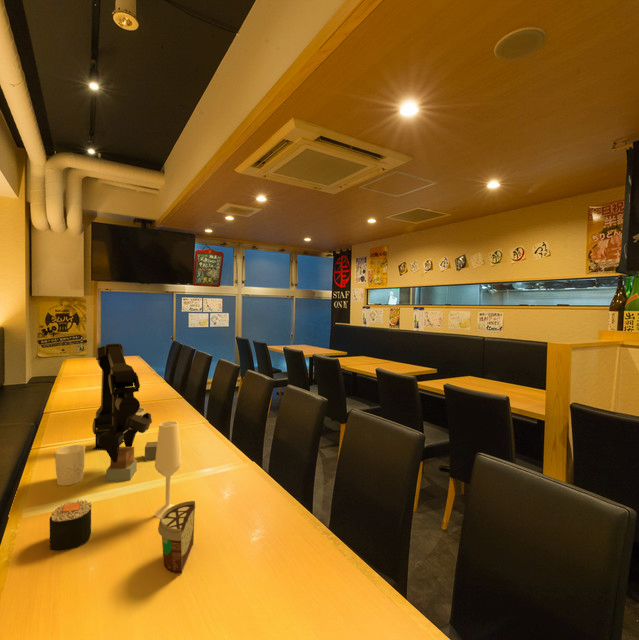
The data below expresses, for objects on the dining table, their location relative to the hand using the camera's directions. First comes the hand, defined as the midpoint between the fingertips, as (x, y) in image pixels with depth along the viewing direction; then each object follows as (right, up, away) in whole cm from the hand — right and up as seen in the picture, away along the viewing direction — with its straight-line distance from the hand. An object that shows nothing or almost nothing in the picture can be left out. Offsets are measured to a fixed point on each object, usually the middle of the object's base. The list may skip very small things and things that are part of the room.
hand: (122, 456), depth 120 cm
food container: (+32, -9, -38) cm, 51 cm away
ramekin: (-24, -5, +50) cm, 55 cm away
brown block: (+3, -6, +15) cm, 17 cm away
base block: (0, -7, 0) cm, 7 cm away
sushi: (+5, -8, -33) cm, 34 cm away
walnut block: (0, -3, 0) cm, 3 cm away
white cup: (-14, -7, -4) cm, 16 cm away
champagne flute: (+23, -8, -20) cm, 31 cm away
